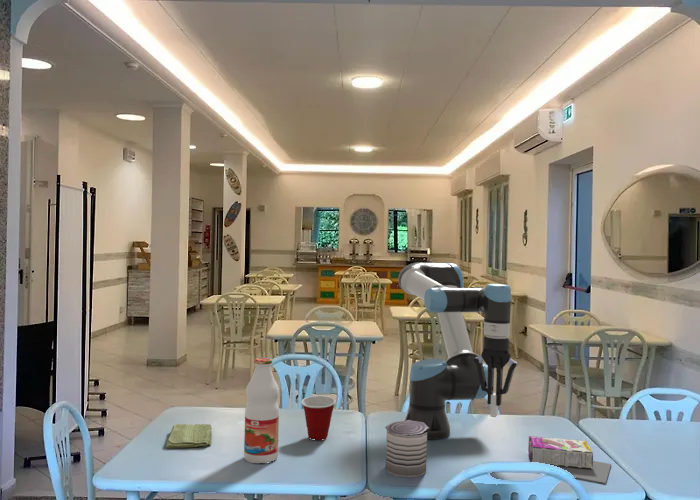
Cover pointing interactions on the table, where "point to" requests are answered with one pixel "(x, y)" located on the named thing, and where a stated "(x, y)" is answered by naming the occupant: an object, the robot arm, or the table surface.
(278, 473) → the table surface
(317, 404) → the plastic cup
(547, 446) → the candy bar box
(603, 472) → the mat
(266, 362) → the fruit juice
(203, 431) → the washcloth
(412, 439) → the can
